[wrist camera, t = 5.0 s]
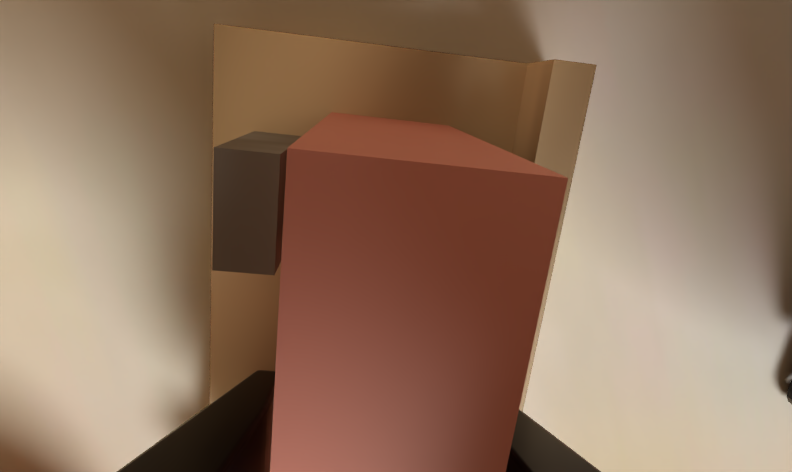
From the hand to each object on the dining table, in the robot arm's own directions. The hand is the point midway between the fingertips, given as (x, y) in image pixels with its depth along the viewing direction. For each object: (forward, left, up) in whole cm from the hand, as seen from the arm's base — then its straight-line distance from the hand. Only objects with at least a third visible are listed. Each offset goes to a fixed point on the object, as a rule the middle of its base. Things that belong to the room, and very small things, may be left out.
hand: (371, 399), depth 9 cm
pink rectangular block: (0, 0, -3) cm, 3 cm away
